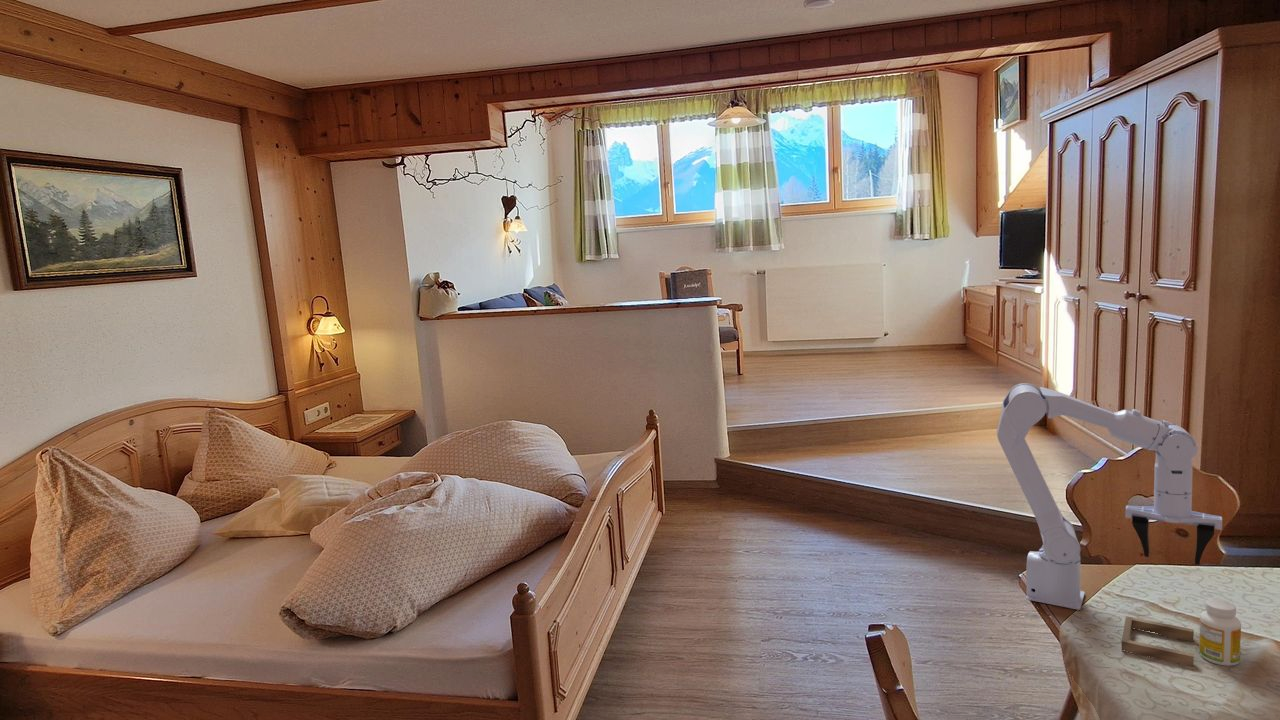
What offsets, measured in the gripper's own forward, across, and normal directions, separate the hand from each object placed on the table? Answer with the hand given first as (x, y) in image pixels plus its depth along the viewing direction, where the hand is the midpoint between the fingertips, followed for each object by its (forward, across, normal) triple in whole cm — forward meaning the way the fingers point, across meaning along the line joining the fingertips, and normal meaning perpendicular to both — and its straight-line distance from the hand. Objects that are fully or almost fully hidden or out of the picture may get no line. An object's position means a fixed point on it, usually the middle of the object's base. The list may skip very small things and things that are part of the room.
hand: (1171, 558), depth 136 cm
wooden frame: (+10, -1, -15) cm, 18 cm away
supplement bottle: (+11, +7, -15) cm, 20 cm away
